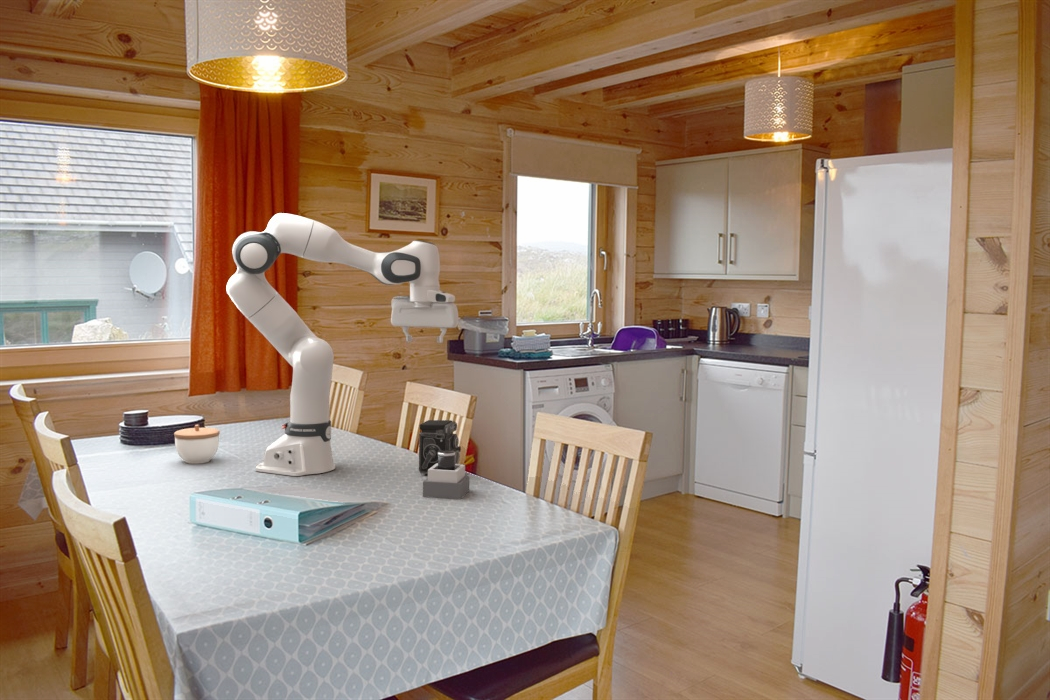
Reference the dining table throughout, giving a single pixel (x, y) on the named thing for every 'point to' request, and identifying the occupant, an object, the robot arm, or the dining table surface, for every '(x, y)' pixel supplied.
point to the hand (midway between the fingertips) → (424, 342)
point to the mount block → (446, 483)
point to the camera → (436, 442)
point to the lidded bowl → (197, 444)
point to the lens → (446, 460)
